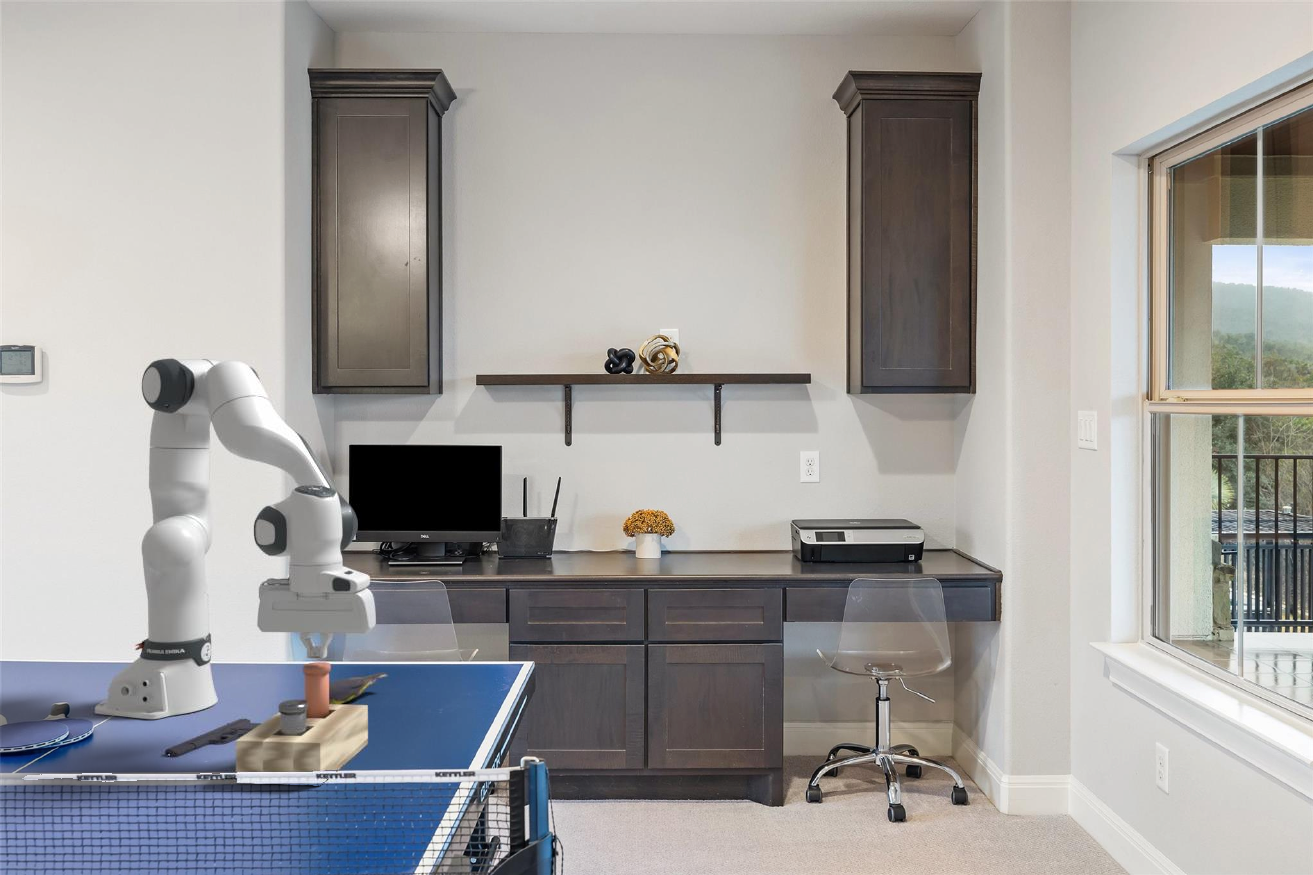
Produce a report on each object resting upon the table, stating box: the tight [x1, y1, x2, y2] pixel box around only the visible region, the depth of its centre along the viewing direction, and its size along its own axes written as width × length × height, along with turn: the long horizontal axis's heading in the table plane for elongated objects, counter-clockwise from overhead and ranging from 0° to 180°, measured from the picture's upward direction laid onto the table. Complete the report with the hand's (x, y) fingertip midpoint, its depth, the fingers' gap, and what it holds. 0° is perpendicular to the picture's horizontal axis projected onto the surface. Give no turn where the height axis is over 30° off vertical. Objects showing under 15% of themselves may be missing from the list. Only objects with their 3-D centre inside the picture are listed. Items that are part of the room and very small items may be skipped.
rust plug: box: [302, 661, 332, 719], centre depth 166 cm, size 5×5×10 cm
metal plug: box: [278, 699, 308, 736], centre depth 157 cm, size 5×5×10 cm
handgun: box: [164, 718, 263, 757], centre depth 171 cm, size 18×2×12 cm
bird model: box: [329, 672, 389, 705], centre depth 196 cm, size 5×20×5 cm, turn 144°
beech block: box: [235, 704, 369, 773], centre depth 161 cm, size 14×20×7 cm
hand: (317, 657), depth 166 cm, fingers closed
